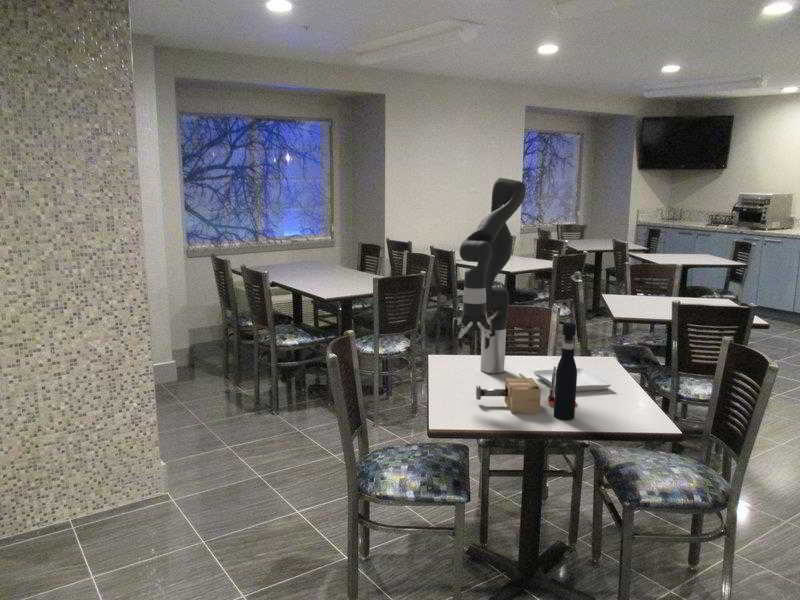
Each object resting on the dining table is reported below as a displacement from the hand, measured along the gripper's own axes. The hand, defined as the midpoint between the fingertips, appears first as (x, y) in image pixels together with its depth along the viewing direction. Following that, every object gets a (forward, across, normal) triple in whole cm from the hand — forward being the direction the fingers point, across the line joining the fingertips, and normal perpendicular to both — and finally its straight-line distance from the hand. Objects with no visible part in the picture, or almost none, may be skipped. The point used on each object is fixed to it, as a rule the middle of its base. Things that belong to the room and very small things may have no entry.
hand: (473, 348), depth 214 cm
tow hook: (+18, -30, +5) cm, 35 cm away
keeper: (+8, -15, +12) cm, 21 cm away
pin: (+16, -7, +5) cm, 18 cm away
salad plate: (+18, -39, -16) cm, 46 cm away
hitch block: (+18, -15, +8) cm, 25 cm away
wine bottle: (+18, -27, +17) cm, 36 cm away
